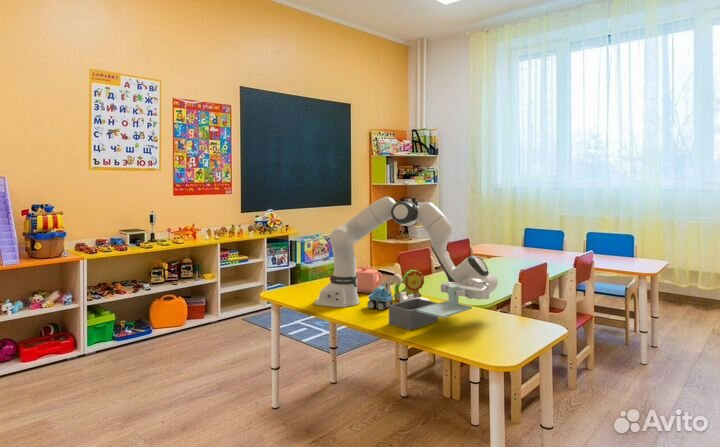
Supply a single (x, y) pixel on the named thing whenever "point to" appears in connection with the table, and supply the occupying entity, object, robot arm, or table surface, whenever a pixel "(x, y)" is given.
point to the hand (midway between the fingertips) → (452, 293)
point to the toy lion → (410, 284)
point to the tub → (410, 314)
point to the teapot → (367, 279)
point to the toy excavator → (383, 294)
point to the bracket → (409, 297)
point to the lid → (446, 306)
